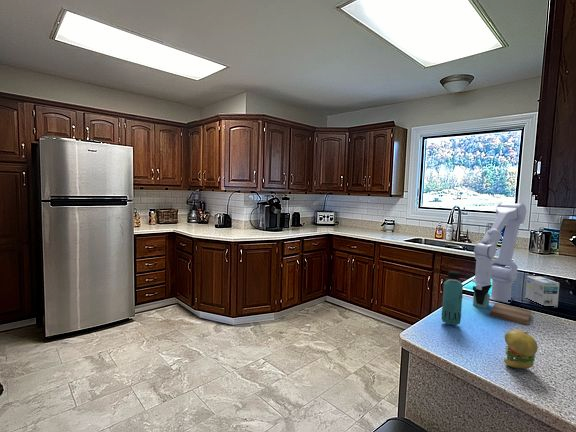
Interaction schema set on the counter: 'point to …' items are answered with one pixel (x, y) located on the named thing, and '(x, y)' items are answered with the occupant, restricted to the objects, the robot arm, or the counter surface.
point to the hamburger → (520, 349)
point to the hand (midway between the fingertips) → (481, 302)
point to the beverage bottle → (452, 299)
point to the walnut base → (510, 313)
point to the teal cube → (485, 303)
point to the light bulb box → (542, 290)
